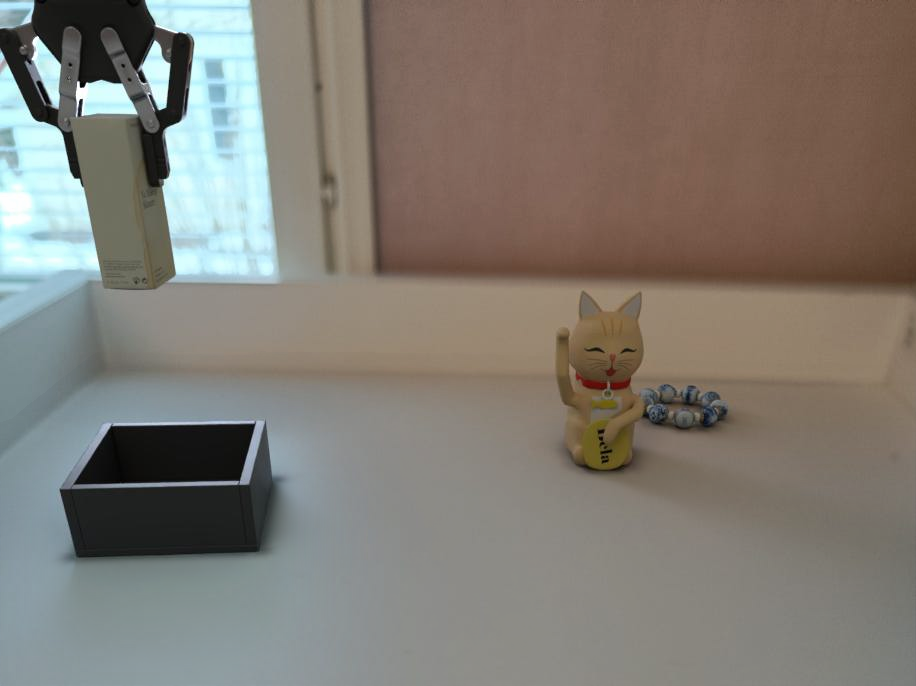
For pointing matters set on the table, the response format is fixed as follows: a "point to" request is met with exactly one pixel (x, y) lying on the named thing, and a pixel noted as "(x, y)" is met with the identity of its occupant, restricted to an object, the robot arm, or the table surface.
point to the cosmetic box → (123, 202)
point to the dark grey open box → (170, 489)
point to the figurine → (601, 382)
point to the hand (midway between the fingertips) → (123, 185)
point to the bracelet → (683, 416)
